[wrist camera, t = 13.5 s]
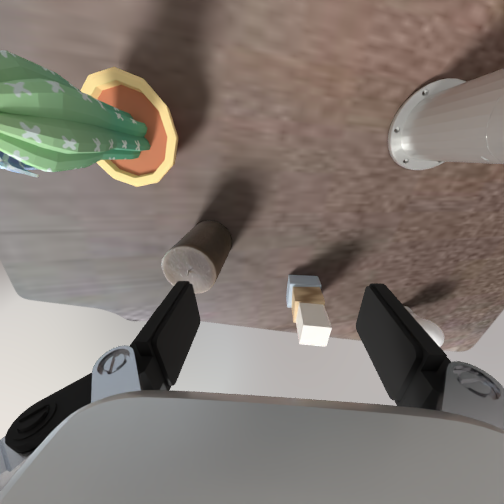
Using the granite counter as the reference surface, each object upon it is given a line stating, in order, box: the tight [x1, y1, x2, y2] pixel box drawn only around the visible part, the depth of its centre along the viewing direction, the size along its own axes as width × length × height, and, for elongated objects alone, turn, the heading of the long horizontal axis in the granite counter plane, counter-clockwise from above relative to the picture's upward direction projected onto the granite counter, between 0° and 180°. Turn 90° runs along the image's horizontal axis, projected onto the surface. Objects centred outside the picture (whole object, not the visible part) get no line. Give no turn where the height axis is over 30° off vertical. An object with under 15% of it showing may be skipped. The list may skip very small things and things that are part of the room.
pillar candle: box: [161, 221, 232, 294], centre depth 39 cm, size 10×10×15 cm
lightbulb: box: [404, 306, 444, 347], centre depth 44 cm, size 6×6×11 cm
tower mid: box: [291, 287, 325, 323], centre depth 44 cm, size 6×6×5 cm
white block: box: [296, 302, 332, 346], centre depth 39 cm, size 5×5×6 cm
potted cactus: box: [0, 50, 178, 187], centre depth 26 cm, size 15×16×25 cm
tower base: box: [286, 275, 321, 308], centre depth 48 cm, size 7×7×4 cm
